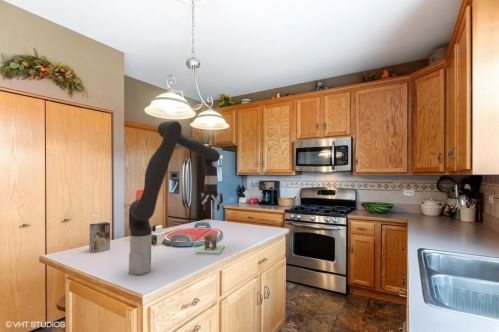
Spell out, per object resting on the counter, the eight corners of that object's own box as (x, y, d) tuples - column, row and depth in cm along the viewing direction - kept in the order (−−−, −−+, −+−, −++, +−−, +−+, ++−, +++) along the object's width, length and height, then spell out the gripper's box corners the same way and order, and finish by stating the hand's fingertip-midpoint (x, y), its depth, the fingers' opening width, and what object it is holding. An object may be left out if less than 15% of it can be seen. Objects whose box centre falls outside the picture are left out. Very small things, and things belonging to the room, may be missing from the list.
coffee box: (105, 247, 155) (105, 221, 155) (110, 249, 151) (110, 222, 152) (88, 251, 148) (89, 224, 148) (93, 253, 144) (94, 225, 144)
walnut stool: (216, 247, 152) (216, 234, 152) (214, 250, 146) (214, 236, 146) (207, 247, 153) (207, 233, 153) (204, 250, 147) (204, 236, 147)
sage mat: (219, 254, 142) (219, 252, 142) (195, 253, 143) (195, 251, 143) (224, 247, 155) (224, 245, 155) (202, 246, 157) (202, 245, 157)
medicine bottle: (148, 244, 162) (149, 225, 163) (157, 241, 169) (157, 224, 169) (156, 245, 159) (156, 227, 160) (165, 243, 165) (165, 225, 166)
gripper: (224, 183, 154) (223, 209, 153) (201, 183, 155) (201, 209, 155) (221, 183, 146) (221, 211, 146) (197, 183, 148) (197, 211, 147)
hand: (210, 210), depth 150 cm, fingers open, 8 cm apart
